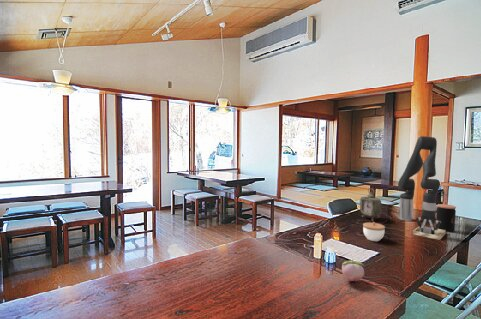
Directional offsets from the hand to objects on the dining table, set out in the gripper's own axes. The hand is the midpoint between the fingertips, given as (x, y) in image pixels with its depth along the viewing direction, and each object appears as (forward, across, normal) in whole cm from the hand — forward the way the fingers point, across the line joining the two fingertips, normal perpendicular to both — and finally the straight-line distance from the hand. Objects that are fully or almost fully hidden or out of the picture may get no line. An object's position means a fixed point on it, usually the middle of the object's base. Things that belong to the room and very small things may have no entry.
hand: (427, 234), depth 182 cm
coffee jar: (+2, -6, -23) cm, 24 cm away
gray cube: (+1, 0, 0) cm, 1 cm away
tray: (+1, 0, -4) cm, 4 cm away
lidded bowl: (+2, +22, +33) cm, 40 cm away
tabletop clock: (+2, +42, -15) cm, 45 cm away
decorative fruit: (+1, +8, +96) cm, 96 cm away
